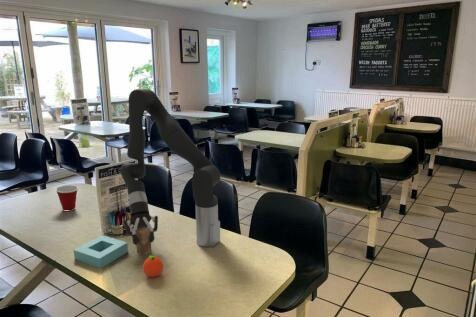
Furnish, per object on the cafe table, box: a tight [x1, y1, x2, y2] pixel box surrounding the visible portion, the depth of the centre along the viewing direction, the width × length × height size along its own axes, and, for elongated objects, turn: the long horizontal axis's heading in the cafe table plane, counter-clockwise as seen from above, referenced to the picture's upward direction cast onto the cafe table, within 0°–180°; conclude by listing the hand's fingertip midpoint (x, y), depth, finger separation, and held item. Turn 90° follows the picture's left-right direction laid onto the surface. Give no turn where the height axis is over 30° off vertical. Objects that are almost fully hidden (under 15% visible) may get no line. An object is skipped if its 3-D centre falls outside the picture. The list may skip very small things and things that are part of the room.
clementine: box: [142, 254, 164, 278], centre depth 126 cm, size 8×7×7 cm
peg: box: [135, 226, 152, 256], centre depth 141 cm, size 4×4×10 cm
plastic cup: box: [55, 184, 79, 211], centre depth 184 cm, size 11×11×12 cm
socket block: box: [73, 235, 129, 269], centre depth 139 cm, size 14×14×4 cm
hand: (144, 243), depth 140 cm, fingers closed on peg, 5 cm apart
